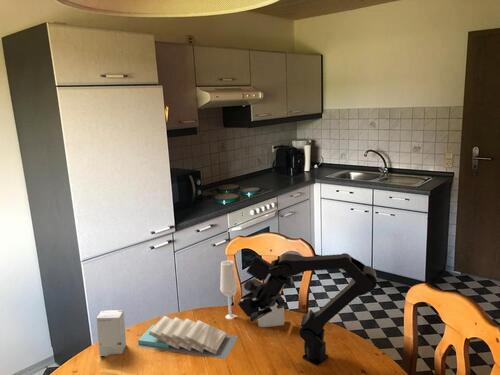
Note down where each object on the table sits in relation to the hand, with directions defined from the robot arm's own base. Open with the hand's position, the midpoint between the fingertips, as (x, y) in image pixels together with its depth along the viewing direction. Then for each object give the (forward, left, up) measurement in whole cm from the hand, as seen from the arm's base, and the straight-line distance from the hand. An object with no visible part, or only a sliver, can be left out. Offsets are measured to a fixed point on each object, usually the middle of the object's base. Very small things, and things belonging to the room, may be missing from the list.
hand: (251, 320), depth 143 cm
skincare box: (+36, +34, -11) cm, 51 cm away
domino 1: (+25, +16, -9) cm, 31 cm away
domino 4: (+13, +9, -9) cm, 18 cm away
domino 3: (+17, +11, -9) cm, 22 cm away
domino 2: (+21, +14, -9) cm, 27 cm away
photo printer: (+6, -16, -11) cm, 20 cm away
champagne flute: (+22, -9, -11) cm, 26 cm away
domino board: (+20, +13, -11) cm, 26 cm away
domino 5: (+9, +7, -9) cm, 14 cm away
